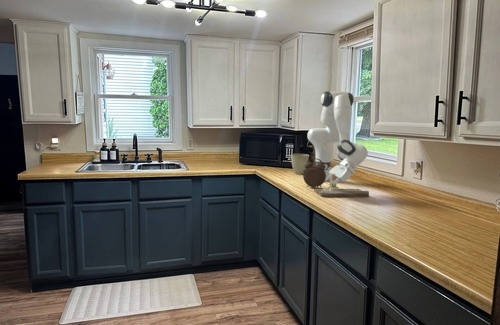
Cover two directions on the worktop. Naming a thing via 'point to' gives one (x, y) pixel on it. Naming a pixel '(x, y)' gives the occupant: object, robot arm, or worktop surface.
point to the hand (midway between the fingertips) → (330, 182)
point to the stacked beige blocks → (332, 186)
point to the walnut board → (342, 193)
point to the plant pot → (299, 162)
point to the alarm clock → (314, 174)
